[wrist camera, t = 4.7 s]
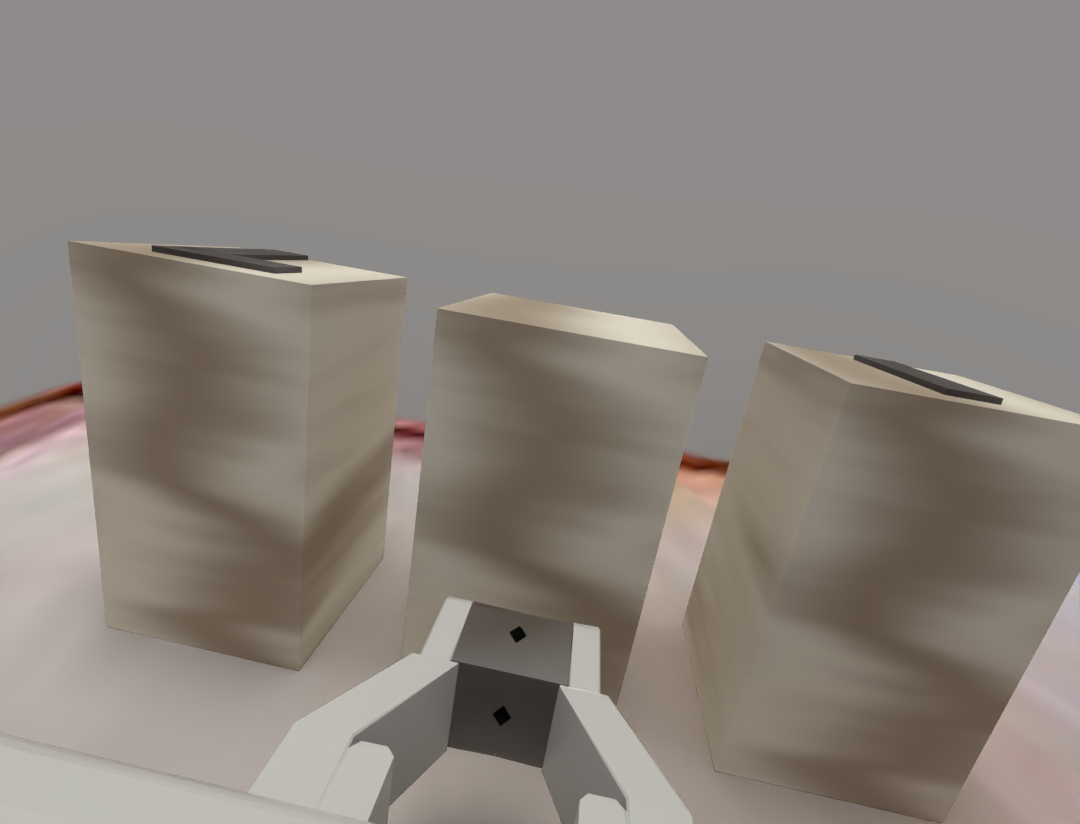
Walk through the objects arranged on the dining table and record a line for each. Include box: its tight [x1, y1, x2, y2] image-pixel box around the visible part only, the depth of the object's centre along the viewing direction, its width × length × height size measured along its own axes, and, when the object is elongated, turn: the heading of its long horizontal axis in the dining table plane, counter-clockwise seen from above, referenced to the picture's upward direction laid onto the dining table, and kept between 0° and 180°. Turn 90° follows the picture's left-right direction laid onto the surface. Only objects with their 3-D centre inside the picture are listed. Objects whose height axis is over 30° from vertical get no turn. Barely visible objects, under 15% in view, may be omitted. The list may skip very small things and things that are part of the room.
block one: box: [682, 341, 1080, 823], centre depth 15 cm, size 6×6×11 cm
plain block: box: [402, 293, 708, 706], centre depth 16 cm, size 6×6×11 cm
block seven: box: [68, 241, 407, 671], centre depth 16 cm, size 6×6×11 cm
